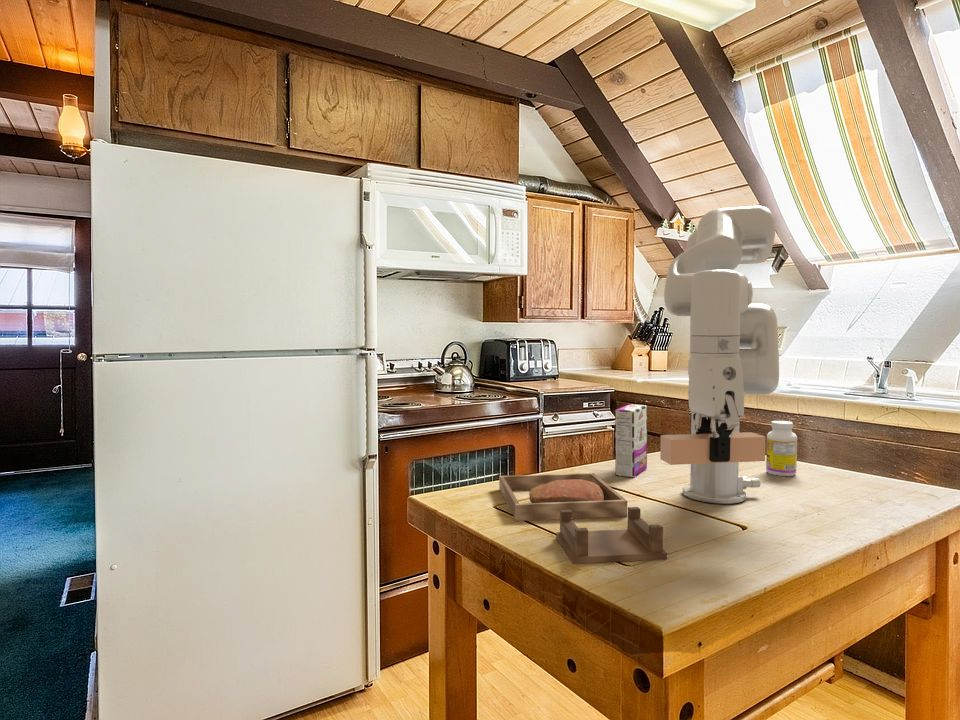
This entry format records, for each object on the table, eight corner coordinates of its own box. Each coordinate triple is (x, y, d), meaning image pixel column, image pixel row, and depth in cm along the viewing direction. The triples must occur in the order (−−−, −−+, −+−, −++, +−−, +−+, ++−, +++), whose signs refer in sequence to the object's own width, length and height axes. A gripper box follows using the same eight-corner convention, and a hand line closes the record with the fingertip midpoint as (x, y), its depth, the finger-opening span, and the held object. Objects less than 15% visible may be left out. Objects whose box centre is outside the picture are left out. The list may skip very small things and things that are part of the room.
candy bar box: (628, 466, 152) (628, 403, 151) (647, 468, 150) (648, 405, 149) (613, 475, 143) (614, 408, 142) (633, 478, 140) (634, 410, 139)
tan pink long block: (750, 455, 99) (751, 432, 99) (764, 461, 95) (765, 436, 95) (660, 459, 98) (660, 435, 97) (670, 464, 94) (671, 440, 93)
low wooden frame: (593, 486, 134) (593, 473, 134) (627, 516, 112) (627, 500, 112) (499, 489, 131) (499, 475, 131) (515, 520, 110) (515, 505, 110)
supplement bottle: (768, 469, 149) (769, 419, 148) (798, 472, 145) (799, 421, 144) (763, 474, 144) (764, 422, 143) (794, 478, 140) (795, 425, 139)
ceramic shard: (533, 469, 129) (602, 481, 127) (528, 498, 129) (597, 511, 127) (530, 477, 114) (608, 491, 112) (525, 510, 114) (603, 525, 112)
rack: (640, 534, 102) (640, 506, 102) (667, 559, 92) (667, 527, 91) (556, 538, 101) (556, 509, 101) (573, 563, 90) (573, 531, 90)
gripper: (766, 349, 87) (763, 470, 89) (710, 344, 104) (708, 446, 105) (718, 349, 87) (716, 471, 88) (669, 345, 103) (668, 447, 104)
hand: (712, 456), depth 97 cm, fingers closed on tan pink long block, 4 cm apart
